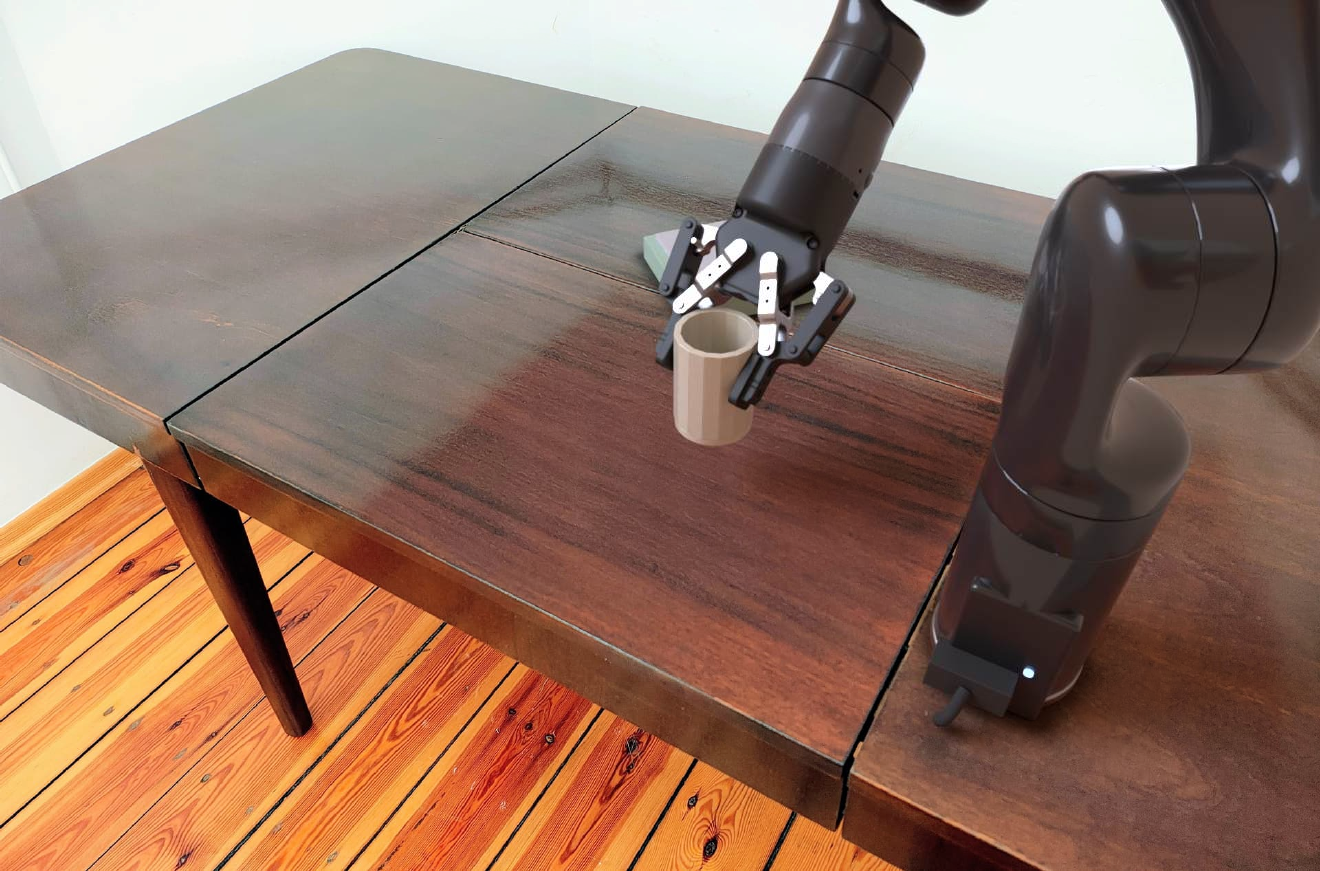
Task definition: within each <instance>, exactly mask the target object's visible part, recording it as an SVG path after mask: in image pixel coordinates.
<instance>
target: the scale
mask: <svg viewBox="0 0 1320 871" xmlns="http://www.w3.org/2000/svg"><path fill="white" fill-rule="evenodd" d="M727 220H728V219H726V220H721V221H715V222H710V223H704V225H708V226H712V227H717V228H719V227H720V226H721V225H722V224H723V223H725V222H726V221H727ZM679 230H680V228H678V229H672V230H667V231H662V232H657V233H654V234H650V235H645V236H643V258H644V261H645V262H646V263H647V265H648V266H649V269H651V272H652V273H653V274H654V276H655V278H656V280H657V281H658V283H660V281H661V278H662V276H663V273H664V270H665V268H666V265H667V262H668V259H669V257H670V254H671V251H672V249H673V246H674V243H675V241H676V238H677V235H678V233H679ZM715 260H716V249H715V246H713V247H712V248H711V252H710V254H708V255H705V256H704V257H703V259H702V262H701V265H700V267H699V270H698V273H697V276H698V275H699V274H700V273H701V272H702V271H703V270H705V269H706V268H707V267H708V266H709V265H710V264H711V263H713V262H714V261H715ZM697 276H696V277H697ZM717 284H720V283H719V282H718V283H717ZM815 292H816V288H815V289H813V290H811V291H809V292H808V293H806V294H804V295H803V296H801V297H799V298H798V299H796V300H795V302H794V307H796V306H800V305H805V304H809V303H813V296H814V294H815ZM716 307H719V308H729V309H732V310H736V311H739V312H742V313H744V314H746V315H747V316H749V317H750V316H752V315H753V316H754V315H758V307H757V306H755V305H754V304H753V303H751V302H750V301H743V300H740V299H738V298H735V297H732V298H731V299H730V300H728V301H727V302H726V303H725V304H723V305H719V306H716Z"/></svg>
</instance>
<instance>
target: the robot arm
mask: <svg viewBox="0 0 1320 871" xmlns="http://www.w3.org/2000/svg"><path fill="white" fill-rule="evenodd" d="M912 1H913V2H915V3H918V4H920V5H922V6H926V7H927V8H930V9H931V10H934V11H936V12H939V13H942V14H944V15H947V16H951V17H955V18H956V17H957V18H961V17H962V18H963V17H966V16H969V15H972V14H975V13H976V12H978V11H980V10H982V8H984V7H985V6H986V5H988V3H990V2H991V0H912ZM1159 2H1160V4H1161V6H1162V7H1163V9H1164V11H1165V14H1166V15H1167V18H1169V21H1170V22H1171V24H1172V26H1173V28H1174V30H1175V32H1176V35H1177V37H1178V39H1179V42H1180V45H1181V47H1182V49H1183V53H1184V56H1185V61H1186V64H1187V67H1188V71H1189V75H1190V82H1191V87H1192V95H1193V102H1194V103H1193V105H1194V116H1195V133H1196V134H1195V135H1196V136H1195V137H1196V139H1195V141H1196V142H1195V143H1196V145H1195V147H1196V148H1195V150H1196V156H1195V157H1196V158H1195V164H1173V165H1171V164H1170V165H1169V164H1167V165H1136V166H1135V165H1134V166H1133V165H1130V166H1129V165H1128V166H1109V167H1101V168H1094V169H1090V170H1087V171H1084V172H1082V173H1080V174H1079V175H1077V176H1076V177H1075V178H1073V179H1072V180H1070V182H1069V183H1068V184H1067V185H1066V186H1065V187H1064V188H1063V189H1062V191H1061V192H1060V194H1058V196H1057V198H1056V199H1055V201H1054V202H1053V204H1052V206H1051V208H1050V211H1049V212H1048V214H1047V216H1046V218H1045V222H1044V223H1043V227H1042V230H1041V232H1040V235H1039V238H1038V242H1037V245H1036V249H1035V253H1034V256H1033V259H1032V264H1031V268H1030V273H1029V278H1028V282H1027V284H1026V285H1027V287H1026V290H1025V294H1024V298H1023V301H1022V302H1023V303H1022V307H1021V311H1020V315H1019V318H1018V323H1017V327H1016V330H1015V334H1014V338H1013V342H1012V346H1011V349H1010V352H1009V355H1008V358H1007V362H1006V368H1005V373H1004V379H1003V387H1002V396H1001V404H1000V411H999V412H1000V413H999V416H998V419H997V423H996V425H995V429H994V433H993V436H992V439H991V442H990V445H989V448H988V451H987V453H986V454H987V455H986V457H985V459H984V464H983V466H982V469H981V472H980V475H979V478H978V480H977V483H976V487H975V490H974V493H973V496H972V499H971V502H970V505H969V508H968V512H967V514H966V518H965V519H964V520H965V521H964V523H963V526H962V529H961V533H960V536H959V539H958V542H957V546H956V548H955V551H954V555H953V557H952V560H951V563H950V567H949V570H948V573H947V576H946V579H945V582H944V585H943V589H942V592H941V595H940V598H939V600H938V602H937V604H936V606H935V608H934V611H933V614H932V618H931V620H930V625H929V640H930V645H931V649H932V653H931V656H930V658H929V660H928V664H927V667H926V670H925V673H924V676H923V678H922V684H924V685H927V686H929V687H931V688H934V689H937V690H939V691H941V692H942V693H946V694H948V695H950V696H951V698H950V700H949V701H948V703H947V705H946V706H945V708H943V710H941V711H940V712H936V713H933V715H932V717H931V722H932V723H933V725H934V726H936V727H937V728H942V727H947V726H950V725H951V724H952V723H953V722H954V721H955V720H956V719H957V717H958V716H959V715H960V713H961V712H962V710H963V708H964V707H965V705H966V704H967V703H968V704H970V705H973V706H975V707H977V708H979V709H982V710H984V711H987V712H989V713H991V714H993V715H996V716H997V717H1000V718H1003V717H1004V716H1005V713H1006V711H1009V712H1011V713H1012V714H1013V713H1014V714H1015V715H1018V716H1020V717H1022V718H1025V719H1027V720H1030V721H1035V720H1037V718H1038V716H1039V714H1040V712H1041V710H1042V708H1045V707H1048V706H1051V705H1053V704H1055V703H1057V702H1058V701H1060V700H1062V699H1063V698H1065V697H1066V696H1067V695H1068V694H1069V692H1071V690H1072V689H1073V687H1074V686H1075V684H1076V682H1077V681H1078V679H1079V676H1080V675H1081V673H1082V670H1083V667H1084V664H1085V662H1086V660H1087V658H1088V656H1089V654H1090V652H1091V651H1092V649H1093V646H1094V645H1095V642H1096V641H1097V639H1098V637H1099V635H1100V633H1101V631H1102V630H1103V628H1104V625H1105V624H1106V622H1107V620H1108V618H1109V616H1110V615H1111V612H1113V609H1114V607H1115V605H1116V604H1117V602H1118V599H1119V598H1120V596H1121V594H1122V593H1123V590H1124V588H1125V586H1126V585H1127V583H1128V580H1129V579H1130V577H1131V576H1132V574H1133V573H1134V570H1135V568H1136V566H1137V564H1138V563H1139V561H1140V559H1141V557H1142V555H1143V553H1144V551H1145V549H1146V548H1147V545H1148V544H1149V542H1150V540H1151V539H1152V537H1153V535H1154V533H1155V532H1156V530H1157V528H1158V526H1159V524H1160V522H1161V521H1162V519H1163V517H1164V515H1165V513H1166V512H1167V509H1168V507H1169V505H1170V503H1171V502H1172V500H1173V498H1174V496H1175V494H1176V493H1177V491H1178V489H1179V487H1180V485H1181V483H1182V482H1183V480H1184V478H1185V476H1186V474H1187V471H1188V469H1189V467H1190V463H1191V460H1192V455H1193V444H1192V443H1193V442H1192V441H1193V440H1192V436H1191V434H1190V430H1189V428H1188V426H1187V424H1186V422H1185V421H1184V419H1183V417H1182V415H1180V413H1179V411H1178V410H1177V409H1176V408H1175V407H1174V406H1173V405H1172V404H1171V403H1170V402H1169V401H1168V400H1167V399H1166V398H1164V396H1162V395H1161V394H1160V393H1158V392H1156V391H1155V390H1154V389H1152V388H1151V387H1149V386H1148V385H1147V384H1144V383H1143V382H1141V381H1139V380H1137V379H1135V378H1163V377H1164V378H1166V377H1167V378H1169V377H1171V378H1172V377H1203V376H1207V377H1208V376H1225V375H1227V376H1229V375H1231V376H1232V375H1252V374H1253V375H1254V374H1260V373H1265V372H1266V373H1267V372H1272V371H1275V370H1278V369H1280V368H1281V367H1283V366H1286V365H1288V364H1290V363H1291V362H1293V361H1294V360H1295V359H1296V358H1298V356H1299V355H1301V354H1302V353H1303V352H1304V351H1305V350H1306V349H1307V347H1308V346H1309V345H1310V344H1311V342H1312V340H1313V339H1314V337H1315V336H1316V334H1317V332H1318V331H1319V329H1320V0H1159ZM928 55H929V52H928V48H927V45H926V43H925V41H924V39H923V38H922V37H921V35H920V34H919V33H918V32H917V31H916V30H915V29H914V28H913V27H912V26H911V25H909V24H908V23H907V22H905V20H904V19H903V18H901V17H899V16H898V15H897V14H896V13H895V12H893V10H892V9H890V8H889V7H888V6H887V5H886V4H885V3H884V2H883V1H882V0H838V2H837V4H836V7H835V10H834V13H833V16H832V18H831V21H830V23H829V25H828V28H827V30H826V33H825V35H824V36H823V38H822V41H821V43H820V45H819V47H818V49H817V50H816V52H815V54H814V57H813V58H812V60H811V62H810V64H809V66H808V68H807V70H806V72H805V74H804V76H803V77H802V79H801V82H800V83H799V85H798V87H797V89H796V90H795V92H794V93H793V94H792V96H791V97H790V98H789V100H788V101H787V103H786V105H785V106H784V108H782V111H781V113H780V114H779V115H778V118H777V120H776V121H775V124H774V126H773V128H772V129H771V130H770V133H769V135H768V137H767V140H766V141H765V142H764V145H763V147H762V148H761V151H760V152H759V154H758V156H757V158H756V159H755V162H754V165H753V166H752V168H751V170H750V172H749V174H748V175H747V177H746V179H745V181H744V183H743V185H742V187H741V189H740V191H739V193H738V195H737V197H736V199H735V200H736V201H735V203H734V204H735V205H734V208H733V212H732V214H731V215H730V217H728V219H726V220H727V221H726V222H725V223H723V224H722V225H721V226H720V227H719V228H717V227H712V226H708V225H704V224H705V223H704V224H703V223H701V222H700V221H699V220H697V219H696V218H695V217H693V216H687V217H685V218H684V219H682V222H681V225H680V227H679V229H680V230H679V233H678V235H677V238H676V241H675V243H674V246H673V249H672V251H671V254H670V257H669V259H668V262H667V265H666V268H665V270H664V273H663V276H662V278H661V281H660V282H659V283H658V287H657V291H658V293H659V295H660V296H662V297H663V298H664V299H665V300H666V301H667V303H668V304H669V306H671V309H672V311H671V315H670V317H669V318H668V321H667V323H666V324H665V327H664V329H663V330H662V333H661V334H660V336H659V339H658V341H657V342H656V344H655V349H654V354H655V355H656V356H655V364H657V365H658V366H660V367H663V368H664V369H667V370H668V371H671V372H674V329H675V325H676V323H677V322H678V321H679V320H680V319H681V318H682V317H683V316H684V315H686V314H688V313H690V312H693V311H695V310H698V309H704V308H710V307H716V306H719V305H723V304H725V303H726V302H727V301H728V300H730V299H731V298H732V297H735V298H738V299H740V300H743V301H750V302H751V303H753V304H754V305H755V306H757V307H758V314H757V320H758V323H759V327H758V328H759V341H758V352H757V354H754V353H751V355H750V356H749V358H748V360H747V362H746V364H745V366H744V368H743V370H742V372H741V373H740V375H739V377H738V379H737V381H736V383H735V385H734V387H733V389H732V391H731V392H730V394H729V397H728V402H729V403H730V404H732V405H734V406H736V407H738V408H740V409H742V410H747V409H748V408H749V406H750V404H752V405H754V407H755V406H756V405H757V404H758V403H760V402H761V400H762V398H763V396H764V394H765V393H766V391H767V388H768V387H769V385H770V383H771V381H772V379H773V378H774V375H775V374H776V372H777V370H778V368H780V367H781V366H782V365H785V364H787V365H788V364H789V365H799V366H800V367H804V368H805V367H809V366H811V365H812V364H813V362H814V361H815V359H816V358H817V357H818V355H819V354H820V352H821V351H822V349H823V348H824V347H825V345H826V344H827V343H828V341H829V340H830V338H831V337H832V336H833V335H834V333H835V332H836V330H837V329H838V327H839V326H840V325H841V324H842V321H844V319H845V318H846V316H847V315H848V313H849V312H850V310H851V309H852V308H853V306H854V305H855V303H856V301H857V296H856V293H854V291H853V290H852V288H850V287H849V285H847V283H846V282H844V281H843V280H841V279H834V278H833V277H831V276H829V275H828V274H827V273H826V264H827V260H828V258H829V256H830V255H831V253H832V252H833V251H834V250H835V247H836V246H837V244H838V243H839V241H840V238H841V237H842V235H843V233H844V231H845V229H846V227H847V225H848V223H849V221H850V219H851V218H852V215H853V214H854V211H855V210H856V208H857V207H858V205H859V202H860V200H861V199H862V197H863V195H864V193H865V191H866V190H867V189H868V188H869V187H870V185H871V183H872V181H873V178H874V174H875V172H876V171H877V168H878V167H879V165H880V162H881V160H882V158H883V155H884V152H885V150H886V147H887V144H888V142H889V139H890V137H891V134H892V132H893V130H894V128H895V127H896V124H897V123H898V121H899V119H900V117H901V115H902V113H903V111H904V109H905V107H906V106H907V103H908V102H909V100H910V98H911V96H912V94H913V93H914V91H915V89H916V87H917V86H918V83H919V82H920V79H921V78H922V75H923V74H924V71H925V68H926V67H927V66H926V65H927V62H928V57H929V56H928ZM713 246H715V249H716V260H715V261H714V262H713V263H711V264H710V265H709V266H708V267H707V268H706V269H705V270H703V271H702V272H701V273H700V274H699V275H698V276H697V273H698V270H699V267H700V265H701V262H702V259H703V257H704V256H705V255H708V254H710V252H711V248H712V247H713ZM696 276H697V277H696ZM718 282H719V283H720V284H717V283H718ZM815 288H816V292H815V294H814V296H813V302H812V303H813V306H812V308H811V309H810V310H809V312H808V313H807V314H806V316H805V317H804V318H803V320H802V322H801V323H800V324H799V325H798V327H797V329H796V330H795V332H794V333H792V336H791V337H790V333H791V331H792V330H793V325H794V312H795V306H794V302H795V300H796V299H798V298H799V297H801V296H803V295H804V294H806V293H808V292H809V291H811V290H813V289H815Z"/></svg>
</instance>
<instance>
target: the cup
mask: <svg viewBox="0 0 1320 871" xmlns="http://www.w3.org/2000/svg"><path fill="white" fill-rule="evenodd" d="M759 328H760V327H759V326H758V324H757V323H756V321H755V320H754V319H753V318H751V317H750V315H749V316H747V315H746V314H744V313H742V312H739V311H736V310H732V309H729V308H719V307H710V308H704V309H698V310H695V311H693V312H690V313H688V314H686V315H684V316H683V317H682V318H681V319H680V320H679V321H678V322H677V323H676V325H675V329H674V371H673V422H674V426H675V429H676V430H677V431H678V433H679V434H680V435H681V436H682V437H684V438H685V439H687V440H689V441H691V443H692V442H693V443H695V444H698V445H701V446H708V447H722V446H728V445H731V444H734V443H737V442H739V441H740V440H742V439H743V438H745V437H746V436H747V435H748V434H749V432H750V431H751V429H752V427H753V422H754V413H755V412H754V409H755V406H754V405H752V404H750V406H749V408H748V409H747V410H742V409H740V408H738V407H736V406H734V405H732V404H730V403H729V402H728V397H729V394H730V392H731V391H732V389H733V387H734V385H735V383H736V381H737V379H738V377H739V375H740V373H741V372H742V370H743V368H744V366H745V364H746V362H747V360H748V358H749V356H750V355H751V353H754V354H757V352H758V341H759Z"/></svg>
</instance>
